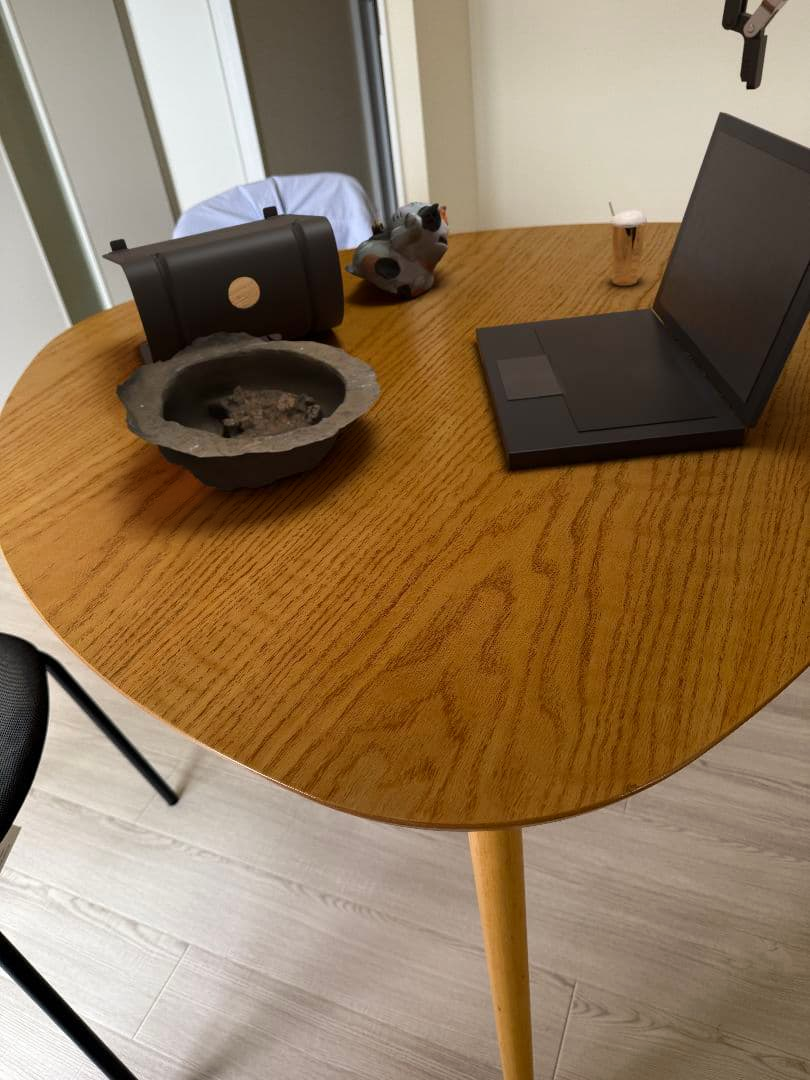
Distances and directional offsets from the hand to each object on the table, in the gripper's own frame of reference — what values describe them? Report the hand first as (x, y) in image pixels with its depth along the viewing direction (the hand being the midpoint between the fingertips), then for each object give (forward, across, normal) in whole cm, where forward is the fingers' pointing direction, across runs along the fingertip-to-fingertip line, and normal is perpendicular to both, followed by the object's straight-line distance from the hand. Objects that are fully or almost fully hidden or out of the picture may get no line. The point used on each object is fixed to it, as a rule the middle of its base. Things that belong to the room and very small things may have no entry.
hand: (807, 86), depth 64 cm
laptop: (+26, +15, +8) cm, 31 cm away
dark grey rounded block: (+26, +62, +12) cm, 68 cm away
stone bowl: (+26, +39, +32) cm, 57 cm away
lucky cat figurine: (+26, +53, -13) cm, 61 cm away
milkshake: (+26, +23, -23) cm, 42 cm away
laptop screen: (+14, +4, 0) cm, 15 cm away
